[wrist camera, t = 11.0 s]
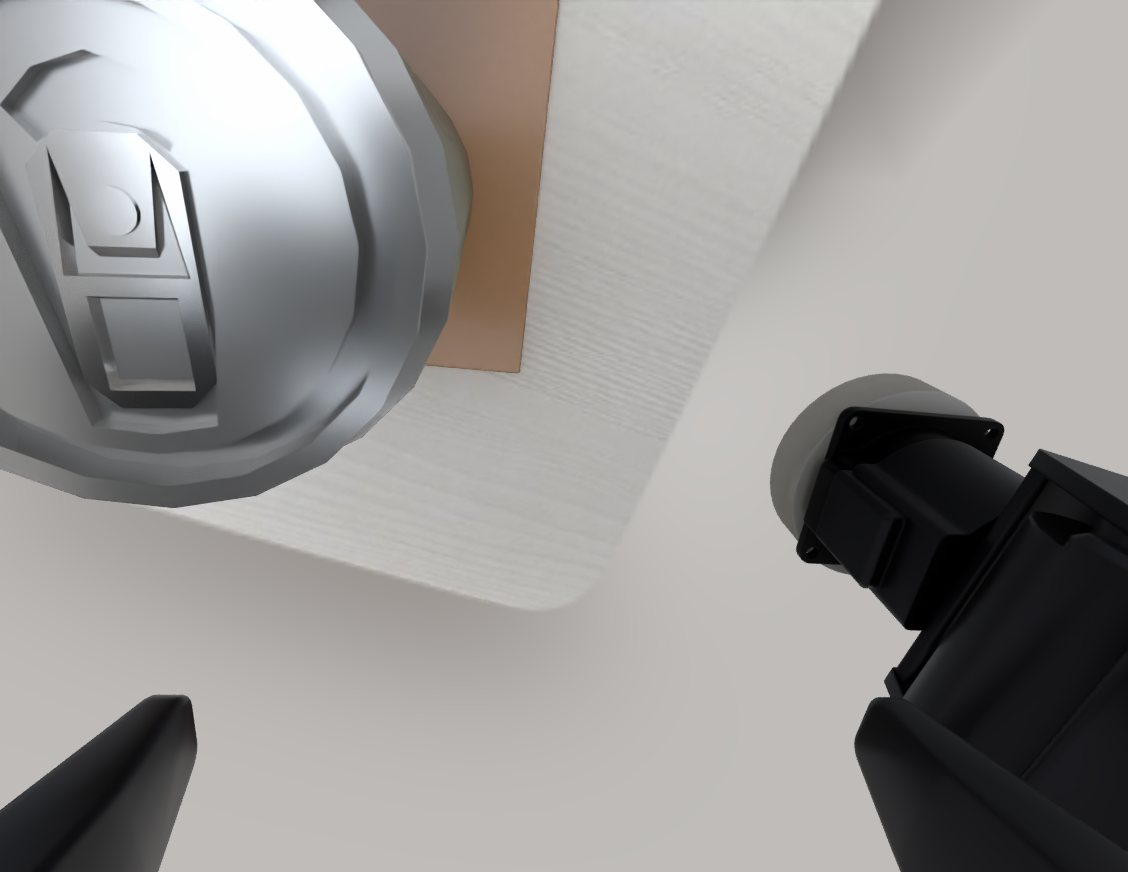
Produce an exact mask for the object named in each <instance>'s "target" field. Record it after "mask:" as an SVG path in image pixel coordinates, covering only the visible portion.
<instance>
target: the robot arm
mask: <svg viewBox="0 0 1128 872" xmlns="http://www.w3.org/2000/svg"><path fill="white" fill-rule="evenodd" d="M855 417H857V420H856V422H855V423H854V424H853V425H850V421H851V420H852V419H853V418H855ZM989 429H990V431H989V432H988V434H986V432H987V431H988V430H989ZM985 434H986V435H985ZM1003 435H1004V426H1003V425H1002V424H1001V423H1000V422H998V421H996V420H994V419H991V418H986V417H975V416H963V415H951V414H940V413H928V412H916V411H905V410H893V409H881V408H870V407H858V406H852V407H848V408H846V409H844V410H843V411H842V412H841V413H840V415H839V417H838V419H837V422H836V425H835V428H834V431H833V434H832V437H831V440H830V444H829V447H828V450H827V453H826V456H825V459H824V462H823V463H822V464H821V466H820V469H819V472H818V476H817V479H816V482H815V485H814V488H813V491H812V494H811V497H810V500H809V504H808V507H807V510H806V513H805V516H804V524H803V527H802V530H801V533H800V536H799V540H798V543H797V546H796V552H797V555H798V556H799V557H800V558H801V560H802V561H804V562H805V563H809V564H831V565H842V566H843V567H844V568H845V569H846V570H847V571H848V573H849V574H850V575H851V576H852V577H853V578H854V579H855V580H856V581H857V583H858V584H859V585H860V586H861V587H863V588H869V589H870V590H871V591H872V592H873V593H874V594H875V596H876V597H877V598H878V599H879V600H880V601H881V602H882V603H883V604H884V605H885V607H886V608H887V609H888V610H889V611H890V612H891V613H892V614H893V616H894V617H895V618H896V619H897V620H898V621H899V622H900V623H901V624H902V626H903V627H904V628H905V629H907V630H917V631H918V630H919V631H920V630H921V633H920V634H919V636H918V637H917V639H916V640H915V642H914V643H913V644H912V646H911V647H910V649H909V650H908V652H907V653H906V655H905V656H904V658H903V659H902V661H901V662H900V664H899V665H898V667H893V668H892V669H891V671H890V672H889V674H888V675H887V677H886V678H885V680H884V683H885V685H886V688H887V690H888V693H889V695H890V697H878V698H875V699H873V700H872V701H871V702H870V704H869V706H868V708H867V711H866V713H865V715H864V717H863V720H862V722H861V725H860V727H859V729H858V731H857V734H856V737H855V742H854V745H855V753H856V757H857V760H858V763H859V765H860V768H861V771H862V773H863V776H864V779H865V781H866V784H867V786H868V789H869V791H870V794H871V797H872V799H873V802H874V805H875V807H876V810H877V812H878V815H879V818H880V820H881V823H882V826H883V828H884V831H885V833H886V836H887V839H888V841H889V844H890V846H891V849H892V852H893V854H894V856H895V859H896V862H897V864H898V866H899V869H900V871H901V872H1128V477H1127V476H1124V475H1120V474H1118V473H1114V472H1111V471H1108V470H1105V469H1102V468H1099V467H1096V466H1093V465H1089V464H1086V463H1083V462H1080V461H1077V460H1074V459H1071V458H1068V457H1064V456H1061V455H1058V454H1055V453H1052V452H1048V451H1045V450H1043V449H1039V450H1038V451H1037V453H1036V455H1035V456H1034V457H1033V459H1032V461H1031V462H1030V463H1029V466H1030V467H1031V469H1030V471H1029V472H1028V474H1027V475H1026V477H1023V476H1021V475H1020V474H1018V473H1016V472H1015V471H1013V470H1011V469H1009V468H1008V467H1006V466H1004V465H1003V464H1001V463H999V462H998V461H996V460H994V459H993V458H994V455H995V453H996V451H997V449H998V446H999V444H1000V442H1001V440H1002V437H1003ZM810 548H813V550H812V551H810V552H807V551H808V550H809V549H810ZM196 754H197V738H196V731H195V724H194V717H193V710H192V704H191V701H190V699H189V698H188V697H187V696H184V695H153V696H150V697H148V698H146V699H144V700H143V701H142V702H140V703H139V704H138V705H136V706H135V707H134V708H132V709H131V710H130V711H129V712H127V713H126V714H125V715H123V716H122V717H121V718H119V719H118V720H117V721H116V722H114V723H113V724H112V725H110V726H109V727H108V728H106V729H105V730H104V731H103V732H101V733H100V734H99V735H97V736H96V737H95V738H94V739H92V740H91V741H90V742H88V743H87V744H86V745H84V746H83V747H82V748H81V749H79V750H78V751H77V752H75V753H74V754H73V755H71V756H70V757H69V758H67V759H66V760H65V761H64V762H62V763H61V764H60V765H58V766H57V767H56V768H54V769H53V770H52V771H51V772H49V773H48V774H47V775H45V776H44V777H43V778H41V779H40V780H39V781H38V782H36V783H35V784H34V785H32V786H31V787H30V788H29V789H27V790H26V791H24V792H23V793H22V794H21V795H19V796H18V797H17V798H15V799H14V800H13V801H11V802H10V803H9V804H8V805H6V806H5V807H4V808H2V809H1V810H0V872H158V871H159V868H160V865H161V862H162V859H163V856H164V853H165V850H166V847H167V844H168V841H169V838H170V835H171V832H172V829H173V826H174V823H175V820H176V817H177V814H178V811H179V808H180V805H181V802H182V799H183V796H184V794H185V791H186V788H187V785H188V782H189V779H190V776H191V773H192V770H193V767H194V763H195V759H196Z"/></svg>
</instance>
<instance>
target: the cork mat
mask: <svg viewBox="0 0 1128 872" xmlns="http://www.w3.org/2000/svg"><path fill="white" fill-rule="evenodd" d="M354 1H355V2H356V3H357V4H358V5H359V7H360V8H361V9H362V10H363V11H364V12H365V13H366V14H367V16H368V17H369V18H370V19H371V20H372V21H373V22H374V24H375V25H376V26H377V27H378V28H379V29H380V30H381V32H382V33H383V34H384V35H385V36H386V37H387V38H388V40H389V41H390V42H391V43H392V44H393V45H394V46H395V48H396V49H397V50H398V51H399V53H400V54H401V55H402V56H403V58H404V59H405V60H406V62H407V63H408V64H409V65H410V67H411V68H412V69H413V71H414V72H415V73H416V74H417V76H418V77H419V78H420V80H421V81H422V82H423V83H424V85H425V86H426V87H427V89H428V90H429V91H430V92H431V94H432V95H433V96H434V98H435V99H436V100H437V102H438V103H439V104H440V105H441V107H442V108H443V109H444V111H445V112H446V113H447V114H448V116H449V117H450V118H451V120H452V122H453V124H454V126H455V128H456V131H457V133H458V135H459V137H460V139H461V141H462V143H463V145H464V148H465V150H466V152H467V154H468V159H469V166H470V172H471V178H472V185H473V191H474V192H473V199H472V206H471V213H470V220H469V227H468V231H467V236H466V240H465V245H464V249H463V253H462V258H461V262H460V267H459V271H458V276H457V280H456V284H455V289H454V293H453V298H452V302H451V307H450V311H449V316H448V320H447V322H446V324H445V326H444V328H443V330H442V332H441V334H440V336H439V338H438V340H437V342H436V344H435V346H434V348H433V350H432V352H431V354H430V356H429V358H428V360H427V362H426V364H425V365H428V366H439V367H451V368H462V369H474V370H485V371H497V372H508V373H520V366H521V357H522V347H523V338H524V328H525V319H526V309H527V300H528V290H529V281H530V271H531V262H532V252H533V243H534V233H535V224H536V214H537V205H538V195H539V186H540V176H541V167H542V157H543V148H544V138H545V129H546V119H547V110H548V100H549V91H550V81H551V72H552V62H553V53H554V43H555V34H556V24H557V15H558V5H559V0H354Z"/></svg>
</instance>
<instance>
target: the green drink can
mask: <svg viewBox="0 0 1128 872" xmlns="http://www.w3.org/2000/svg"><path fill="white" fill-rule="evenodd" d="M473 192H474V191H473V185H472V178H471V172H470V166H469V159H468V154H467V152H466V150H465V148H464V145H463V143H462V141H461V139H460V137H459V135H458V133H457V131H456V128H455V126H454V124H453V122H452V120H451V118H450V117H449V116H448V114H447V113H446V112H445V111H444V109H443V108H442V107H441V105H440V104H439V103H438V102H437V100H436V99H435V98H434V96H433V95H432V94H431V92H430V91H429V90H428V89H427V87H426V86H425V85H424V83H423V82H422V81H421V80H420V78H419V77H418V76H417V74H416V73H415V72H414V71H413V69H412V68H411V67H410V65H409V64H408V63H407V62H406V60H405V59H404V58H403V56H402V55H401V54H400V53H399V51H398V50H397V49H396V48H395V46H394V45H393V44H392V43H391V42H390V41H389V40H388V38H387V37H386V36H385V35H384V34H383V33H382V32H381V30H380V29H379V28H378V27H377V26H376V25H375V24H374V22H373V21H372V20H371V19H370V18H369V17H368V16H367V14H366V13H365V12H364V11H363V10H362V9H361V8H360V7H359V5H358V4H357V3H356V2H355V1H354V0H0V469H2V470H4V471H7V472H10V473H13V474H16V475H19V476H22V477H24V478H27V479H30V480H33V481H36V482H39V483H42V484H44V485H47V486H50V487H53V488H56V489H58V490H61V491H64V492H67V493H70V494H73V495H76V496H78V497H81V498H86V499H95V500H104V501H113V502H122V503H131V504H141V505H150V506H159V507H169V508H178V507H184V506H191V505H198V504H204V503H211V502H217V501H224V500H231V499H237V498H244V497H251V496H256V495H259V494H261V493H263V492H265V491H267V490H269V489H271V488H273V487H275V486H278V485H280V484H282V483H284V482H286V481H288V480H290V479H292V478H294V477H297V476H299V475H301V474H303V473H305V472H307V471H309V470H311V469H313V468H316V467H318V466H320V465H322V464H324V463H326V462H327V461H328V460H329V459H330V458H332V457H333V456H334V455H335V454H336V453H337V452H338V451H339V450H340V449H341V448H342V447H343V446H345V445H347V444H349V443H351V442H353V441H355V440H357V439H359V438H362V437H363V436H364V435H365V434H366V433H367V432H368V431H369V430H370V429H371V428H372V427H373V426H374V425H375V424H376V423H377V422H378V421H379V420H380V419H381V418H382V417H383V416H384V415H385V414H386V413H388V412H389V411H390V410H391V409H392V408H393V407H394V406H395V405H396V404H397V403H398V402H399V401H400V400H401V399H402V398H403V397H404V396H405V395H406V394H407V393H408V392H409V391H410V390H411V389H412V388H413V387H414V386H415V384H416V382H417V380H418V378H419V376H420V374H421V372H422V370H423V368H424V366H425V364H426V362H427V360H428V358H429V356H430V354H431V352H432V350H433V348H434V346H435V344H436V342H437V340H438V338H439V336H440V334H441V332H442V330H443V328H444V326H445V324H446V322H447V320H448V316H449V311H450V307H451V302H452V298H453V293H454V289H455V284H456V280H457V276H458V271H459V267H460V262H461V258H462V253H463V249H464V245H465V240H466V236H467V231H468V227H469V220H470V213H471V206H472V199H473Z"/></svg>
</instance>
